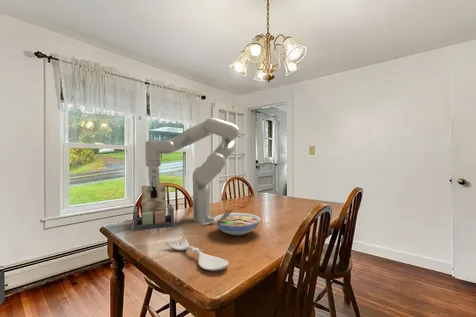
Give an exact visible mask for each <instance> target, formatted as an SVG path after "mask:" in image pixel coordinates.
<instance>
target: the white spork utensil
mask: <svg viewBox="0 0 476 317" xmlns="http://www.w3.org/2000/svg"><path fill="white" fill-rule="evenodd" d="M177 240H178V241H176V240H175V241H174V242H175V243H174V242H173V241H171V242H170V241H165V244H166V246H168V247H169V248H172V249H174V250H176V251H185V250H190V251H191V252H192V253H197V254H198V265H199V267H200V268H202V269H204V270H206V271H221V270H224V269H225V268H227V267H228V266H229V261H228V260H226V259H224V258H221V257H218V256H215V255H214V256H213V255H210V254H206V253H204V252H202V251H200V249H199V248H198V247H194V246H191V245H190V243H189V241H188V240H187V239H186V237H185V236H182V238H180V239H177Z"/></svg>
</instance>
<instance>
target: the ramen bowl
mask: <svg viewBox="0 0 476 317" xmlns="http://www.w3.org/2000/svg"><path fill="white" fill-rule="evenodd" d="M213 222H214V223H215V226H217V227H218V228H219V230H220V231H221V232H223V233H226V234H228V235H231V236H233V237H234V236H235V237H239V236H244V235H245V234H249V233H251V232H252V231H254V230H255V229H256V228H257V226H258V225H259V224H260V222H261V217H259V216H258V215H256V214H252V213H247V212H232V210H228V209H227V210H226V212H224V213H223V214H219V215H216V216H214V221H213Z"/></svg>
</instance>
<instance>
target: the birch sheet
mask: <svg viewBox="0 0 476 317" xmlns="http://www.w3.org/2000/svg"><path fill="white" fill-rule="evenodd" d="M166 193H167V191H166V184H159V185H158V184H157V198H151V185H141V214H142V213H144V212H153V216H155V212H156V211H165V215H167V205H166V204H167V203H166V202H167V200H166Z"/></svg>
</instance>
